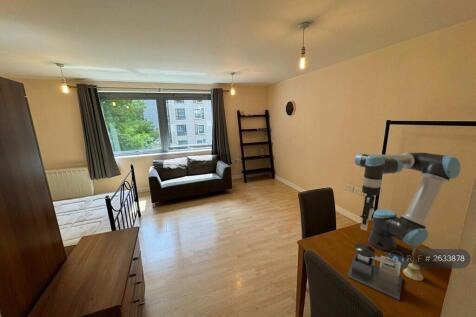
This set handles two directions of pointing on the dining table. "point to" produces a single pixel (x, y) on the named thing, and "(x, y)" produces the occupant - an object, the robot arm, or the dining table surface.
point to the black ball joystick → (368, 254)
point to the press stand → (378, 276)
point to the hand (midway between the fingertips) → (365, 224)
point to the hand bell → (414, 267)
